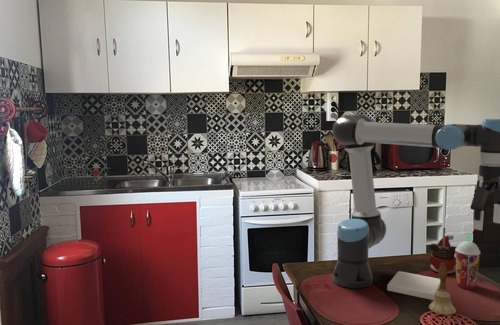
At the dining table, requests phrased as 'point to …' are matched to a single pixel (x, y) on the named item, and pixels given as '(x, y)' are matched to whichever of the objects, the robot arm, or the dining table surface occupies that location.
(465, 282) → the smoothie
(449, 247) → the cake
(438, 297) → the hand bell
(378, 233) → the robot arm
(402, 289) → the stand
